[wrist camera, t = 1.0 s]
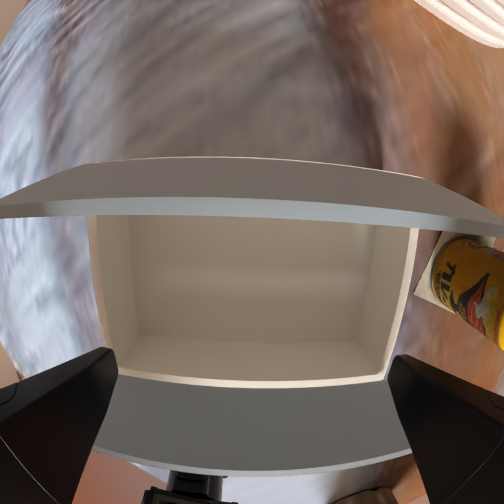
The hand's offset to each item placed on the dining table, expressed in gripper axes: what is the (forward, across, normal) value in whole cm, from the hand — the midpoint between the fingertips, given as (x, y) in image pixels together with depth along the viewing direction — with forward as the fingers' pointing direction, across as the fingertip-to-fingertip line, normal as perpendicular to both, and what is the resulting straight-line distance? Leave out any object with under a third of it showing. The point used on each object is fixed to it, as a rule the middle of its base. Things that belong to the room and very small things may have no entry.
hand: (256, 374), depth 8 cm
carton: (+12, 0, 0) cm, 12 cm away
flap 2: (+3, 0, +5) cm, 6 cm away
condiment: (+12, -18, -1) cm, 22 cm away
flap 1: (+3, 0, -5) cm, 6 cm away
